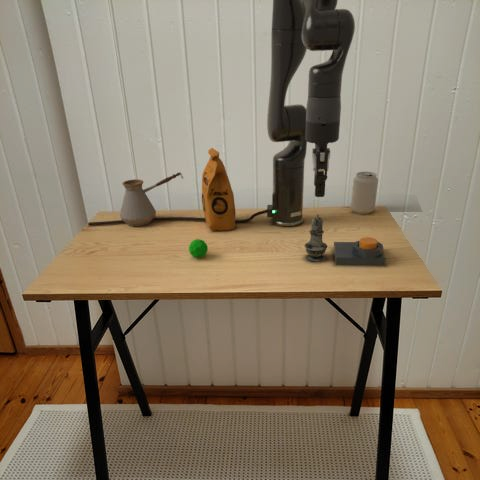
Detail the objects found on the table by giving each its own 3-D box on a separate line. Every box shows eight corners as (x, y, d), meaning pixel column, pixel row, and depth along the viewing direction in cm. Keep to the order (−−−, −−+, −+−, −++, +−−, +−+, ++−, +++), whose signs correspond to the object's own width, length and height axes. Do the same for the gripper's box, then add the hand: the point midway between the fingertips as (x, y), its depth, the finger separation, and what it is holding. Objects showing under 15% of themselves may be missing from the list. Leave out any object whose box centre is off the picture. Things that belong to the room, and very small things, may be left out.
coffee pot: (118, 229, 142) (109, 181, 134) (123, 217, 152) (115, 171, 144) (187, 225, 143) (182, 177, 135) (187, 213, 153) (183, 167, 145)
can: (374, 215, 144) (379, 176, 138) (350, 214, 145) (354, 176, 139) (373, 207, 150) (378, 170, 144) (350, 206, 152) (354, 170, 145)
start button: (359, 250, 113) (360, 243, 112) (358, 243, 117) (358, 237, 116) (377, 250, 113) (378, 244, 112) (375, 243, 117) (376, 237, 116)
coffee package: (205, 233, 137) (198, 157, 125) (203, 219, 147) (197, 148, 135) (237, 230, 137) (234, 155, 126) (233, 216, 148) (230, 146, 136)
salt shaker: (329, 255, 120) (332, 211, 114) (322, 264, 116) (325, 219, 109) (307, 252, 122) (309, 209, 116) (300, 261, 118) (302, 216, 111)
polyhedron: (211, 258, 121) (209, 241, 119) (193, 262, 120) (192, 245, 117) (203, 251, 125) (202, 235, 123) (187, 255, 124) (185, 239, 121)
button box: (335, 265, 115) (336, 251, 113) (333, 249, 123) (334, 235, 121) (384, 266, 113) (386, 251, 111) (378, 249, 122) (380, 235, 120)
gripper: (305, 113, 107) (303, 182, 116) (306, 124, 95) (303, 200, 104) (338, 112, 106) (333, 182, 115) (342, 123, 94) (336, 200, 103)
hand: (319, 191), depth 109 cm, fingers open, 8 cm apart
